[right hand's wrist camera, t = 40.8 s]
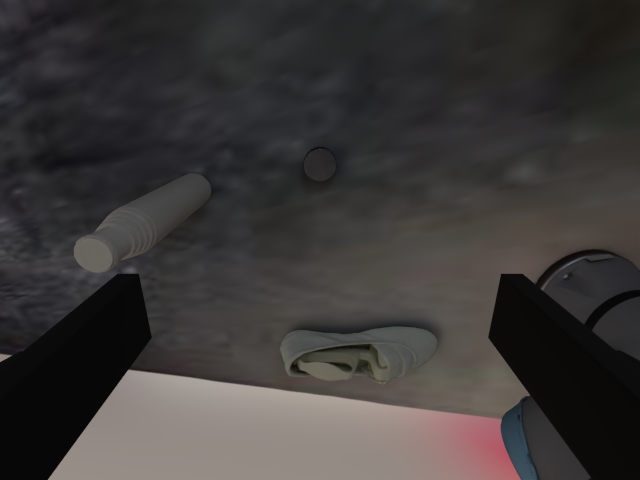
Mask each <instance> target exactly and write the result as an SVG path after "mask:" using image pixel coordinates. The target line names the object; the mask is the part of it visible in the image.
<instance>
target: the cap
mask: <svg viewBox="0 0 640 480" xmlns="http://www.w3.org/2000/svg"><path fill="white" fill-rule="evenodd" d="M304 160H305V161H304V169H305V172H306V174H307V175H308V176H309V177H310V178H311V179H313V180H315V181H325V180H328V179H329V178H331V177H332V175H333V174H334V172H335V170H336V164H337V163H336V159H335V156H334V155H333V153H332V152H331V151H330V150H329V149H327V148H324V147H316V148H313V149H311V150H310V151H309V152H308V154H307V155H306V158H305V159H304Z"/></svg>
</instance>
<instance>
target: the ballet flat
mask: <svg viewBox="0 0 640 480" xmlns="http://www.w3.org/2000/svg"><path fill="white" fill-rule="evenodd" d="M437 343H438V341H437V339H436V337H435V336H434V335H433V334H432V333H431V332H429V331H427V330H424V329H420V328H415V327H408V326H390V327H384V328H376V329H371V330H367V331H363V332H360V333H352V334H339V333H322V332H316V331H309V330H295V331H292V332H290V333H288V334H287V335H286V336H285V337H284V339H283V341H282V343H281V347H280V354H281V357H282V361H283V364H284V367H285V369H286V372H287V373H288V375H290V376H292V377H308V376H314V377H316V378H319V379H322V380H327V381H338V380H350V379H352V377H353V375H359V376H365V377H366V378H368V379H369V380H370V381H373V382H377V383H379V384H381V385H382V384H386V383H389V382H391V381H392V380H393V379H396V378H398V377H401V376H404V375H406V374H408V373H409V372H411V371H413V370H415V369H417V368H418V367H420V366H421V365H423V364H424V363H426V362H427V361H428V360H429V359H430V358H431V357H432V356H433V355H434V353H435V351H436V349H437ZM370 376H374V377H375V378H374V379H373V378H372V377H370Z"/></svg>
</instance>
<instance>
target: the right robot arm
mask: <svg viewBox="0 0 640 480" xmlns="http://www.w3.org/2000/svg"><path fill="white" fill-rule="evenodd" d="M151 338H152V337H151V332H150V327H149V322H148V317H147V312H146V307H145V302H144V297H143V292H142V288H141V283H140V278H139V274H117V275H116V276H114V277H113V278H112V279H111V280H110V281H108V282H107V283H106V284H105V285H103V286H102V287H101V288H100V289H99V290H97V291H96V292H95V293H94V294H92V295H91V296H90V297H89V298H88V299H86V300H85V301H84V302H83V303H82V304H80V305H79V306H78V307H77V308H75V309H74V310H73V311H72V312H71V313H69V314H68V315H67V316H66V317H64V318H63V319H62V320H61V321H60V322H58V323H57V324H56V325H55V326H53V327H52V328H51V329H50V330H49V331H47V332H46V333H45V334H44V335H43V336H41V337H40V338H39V339H38V340H36V341H35V342H34V343H33V344H32V345H30V346H29V347H28V348H27V349H25V350H24V351H23V352H18V353H16V354H14V355H13V356H11V357H9V358H7V359H5V360H3V361H1V362H0V480H48V479H49V477H50V476H51V474H52V473H53V472H54V470H55V469H56V468H57V466H58V465H59V463H60V462H61V461H62V459H63V458H64V457H65V455H66V454H67V453H68V451H69V450H70V449H71V447H72V446H73V444H74V443H75V442H76V440H77V439H78V438H79V436H80V435H81V433H82V432H83V431H84V429H85V428H86V427H87V425H88V424H89V423H90V421H91V420H92V418H93V417H94V416H95V414H96V413H97V412H98V410H99V409H100V407H101V406H102V405H103V403H104V402H105V401H106V399H107V398H108V396H109V395H110V394H111V393H112V391H113V390H114V388H115V387H116V386H117V384H118V383H119V382H120V380H121V379H122V377H123V376H124V375H125V373H126V372H127V371H128V369H129V368H130V367H131V365H132V364H133V362H134V361H135V360H136V358H137V357H138V356H139V354H140V353H141V352H142V350H143V349H144V347H145V346H146V345H147V343H148V342H149V341H150V339H151ZM488 338H489V339H490V341H491V342H492V343H493V345H494V346H495V347H496V349H497V350H498V352H499V353H500V354H501V356H502V357H503V358H504V360H505V361H506V362H507V364H508V365H509V367H510V368H511V369H512V371H513V372H514V373H515V375H516V376H517V377H518V379H519V380H520V382H521V383H522V384H523V386H524V387H525V388H526V390H527V391H528V393H529V394H530V396H528V397H527V396H525V397H524V398H522V399H521V400H520V402H519V404H517V405H516V406H514V407H513V408H512V409H510V410H509V411H508V412H506V413H505V414H504V416H503V418H502V422H501V434H502V438H503V442H504V445H505V448H506V450H507V453H508V455H509V457H510V459H511V461H512V463H513V465H514V467H515V469H516V471H517V473H518V475H519V477H520V478H521V480H640V271H639V269H638V268H637V267H636V266H635V265H634V264H633V263H632V262H630V261H629V260H627V259H625V258H623V257H621V256H619V255H617V254H615V253H612V252H609V251H605V250H586V251H581V252H577V253H574V254H571V255H569V256H566V257H565V258H563V259H561V260H559V261H558V262H556V263H555V264H553V265H552V266H551V267H550V268H549V269H547V270H546V271H545V272H544V274H543V275H542V276H541V277H540V279H539V280H538V281H537V283H536V285H535V284H534V283H533V282H532V281H530V280H529V279H528V278H527V277H526V276H524V275H523V274H501V278H500V283H499V288H498V292H497V297H496V302H495V307H494V312H493V317H492V322H491V327H490V332H489V337H488Z"/></svg>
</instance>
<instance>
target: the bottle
mask: <svg viewBox="0 0 640 480" xmlns="http://www.w3.org/2000/svg"><path fill="white" fill-rule="evenodd" d="M210 196H211V186H210V184H209V182H208V180H207V179H206V178H205V177H203V176H202V175H200V174H197V173H189V174H186V175H184V176H182V177H180V178H178V179H176V180H174V181H172V182H170V183H168V184H166V185H164V186H162V187H160V188H158V189H156V190H154V191H152V192H150V193H148V194H146V195H144V196H142V197H140V198H138V199H136V200H134V201H132V202H130V203H128V204H126V205H124V206H122V207H120V208H118V209H116V210H115V211H113V212H112V213H111V214H109V215H108V216H107V218H106V219H105V220H104V221H103V222H102V223H101V225H100V226H99V227H98V228H97V229H96V231H95V232H94V233H92V234H90V235H86V236H84V237H82V238H80V239H79V240H78V241H77V242H76V245H75V248H74V256H75V259H76V260H77V262H78V263H79V264H80V266H82V267H83V268H84V269H86V270H88V271H90V272H94V273H101V272H106V271H108V270H110V269H111V268H113V267H114V266H115V265H116V264H117V262H119V261H120V260H124V259H127V258H130V257H133V256H136V255H139V254H142V253H144V252H145V251H147V250H149V249H150V248H152V247H153V246H154V245H155V244H156V243H158V242H159V241H160V240H161V239H162V238H164V237H165V236H166V235H167V234H168V233H170V232H171V231H172V230H173V229H174V228H176V227H177V226H178V225H179V224H180V223H182V222H183V221H184V220H185V219H186V218H188V217H189V216H190V215H191V214H193V213H194V212H195V211H196V210H197V209H199V208H200V207H201V206H202V205H203V204H205V203H206V202H207V201H208V200H209V198H210Z"/></svg>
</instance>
